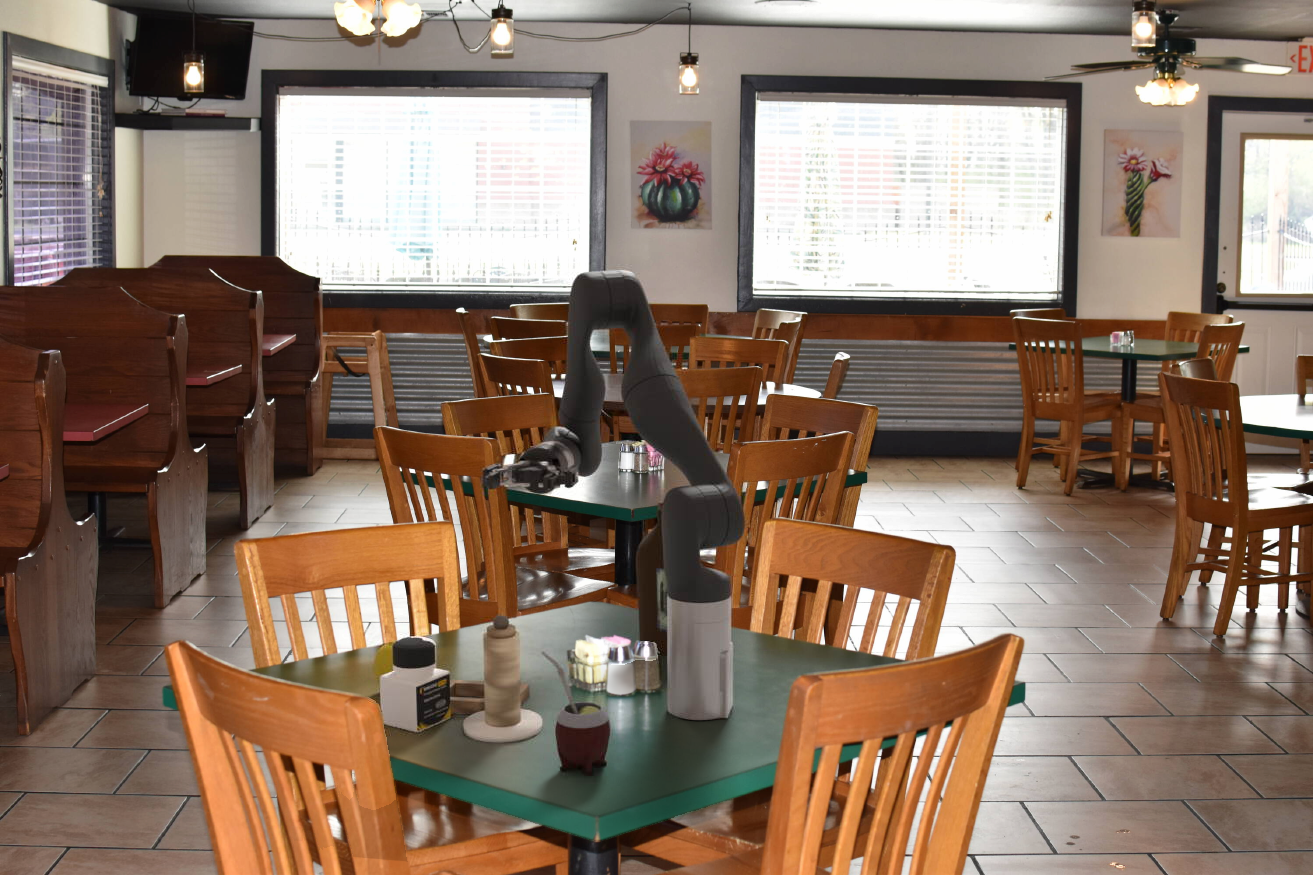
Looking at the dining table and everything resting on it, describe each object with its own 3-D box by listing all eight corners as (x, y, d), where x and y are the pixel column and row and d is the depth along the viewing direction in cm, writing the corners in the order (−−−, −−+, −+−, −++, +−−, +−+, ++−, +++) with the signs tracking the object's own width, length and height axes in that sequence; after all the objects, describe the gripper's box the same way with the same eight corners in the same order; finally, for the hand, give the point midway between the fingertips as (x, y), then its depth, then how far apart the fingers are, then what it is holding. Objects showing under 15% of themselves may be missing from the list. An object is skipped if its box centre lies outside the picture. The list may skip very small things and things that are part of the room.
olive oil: (626, 642, 226) (625, 498, 223) (683, 635, 231) (683, 493, 227) (650, 659, 217) (650, 509, 213) (709, 651, 221) (709, 504, 217)
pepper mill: (525, 715, 188) (523, 611, 185) (515, 728, 183) (513, 620, 181) (491, 713, 188) (489, 609, 186) (480, 725, 184) (477, 619, 181)
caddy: (529, 696, 199) (529, 683, 198) (512, 717, 190) (512, 703, 190) (446, 691, 201) (446, 678, 201) (426, 711, 192) (425, 698, 192)
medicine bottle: (418, 733, 184) (415, 650, 182) (380, 724, 187) (377, 642, 186) (452, 718, 190) (449, 637, 188) (414, 709, 193) (412, 630, 192)
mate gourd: (617, 773, 169) (616, 660, 167) (558, 782, 167) (556, 667, 165) (599, 753, 176) (598, 644, 174) (542, 761, 173) (540, 650, 171)
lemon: (403, 699, 198) (402, 647, 197) (368, 696, 199) (367, 645, 198) (417, 687, 203) (416, 636, 202) (383, 685, 204) (382, 634, 203)
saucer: (551, 716, 190) (551, 710, 190) (530, 744, 179) (529, 737, 179) (477, 712, 192) (477, 705, 192) (452, 739, 181) (452, 732, 181)
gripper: (503, 442, 214) (471, 457, 198) (589, 444, 211) (563, 459, 195) (504, 488, 215) (472, 506, 199) (589, 490, 212) (564, 509, 196)
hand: (517, 483), depth 197 cm, fingers open, 8 cm apart
